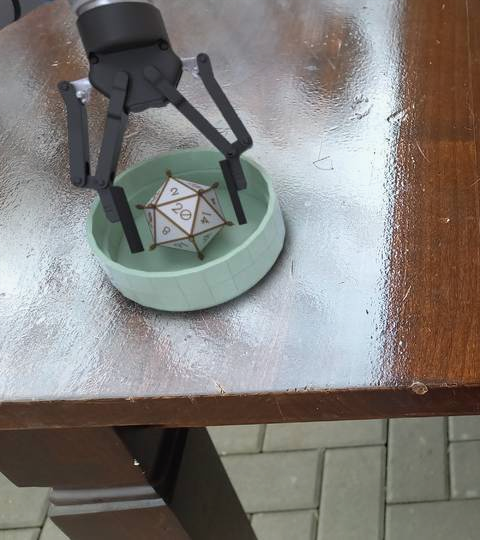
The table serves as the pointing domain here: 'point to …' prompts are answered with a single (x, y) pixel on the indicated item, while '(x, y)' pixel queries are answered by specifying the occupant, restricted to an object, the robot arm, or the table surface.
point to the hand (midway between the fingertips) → (191, 237)
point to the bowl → (183, 262)
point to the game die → (184, 215)
